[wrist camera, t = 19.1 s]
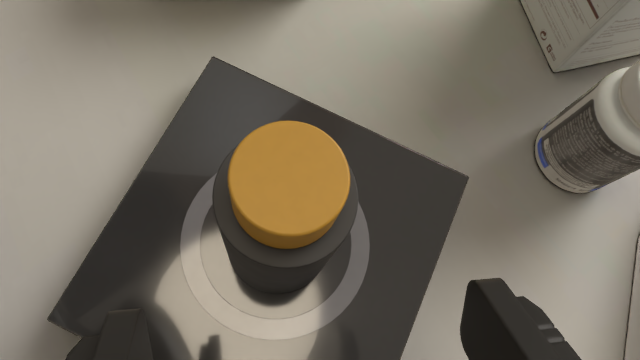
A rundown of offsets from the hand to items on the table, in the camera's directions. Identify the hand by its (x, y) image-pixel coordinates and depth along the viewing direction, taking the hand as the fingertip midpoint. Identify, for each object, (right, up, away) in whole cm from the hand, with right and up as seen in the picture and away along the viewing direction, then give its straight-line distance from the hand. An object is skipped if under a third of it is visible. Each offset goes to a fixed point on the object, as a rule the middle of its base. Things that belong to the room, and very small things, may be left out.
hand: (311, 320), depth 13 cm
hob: (-2, 0, +14) cm, 14 cm away
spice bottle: (-2, +1, +12) cm, 12 cm away
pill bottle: (+15, +5, +18) cm, 24 cm away
